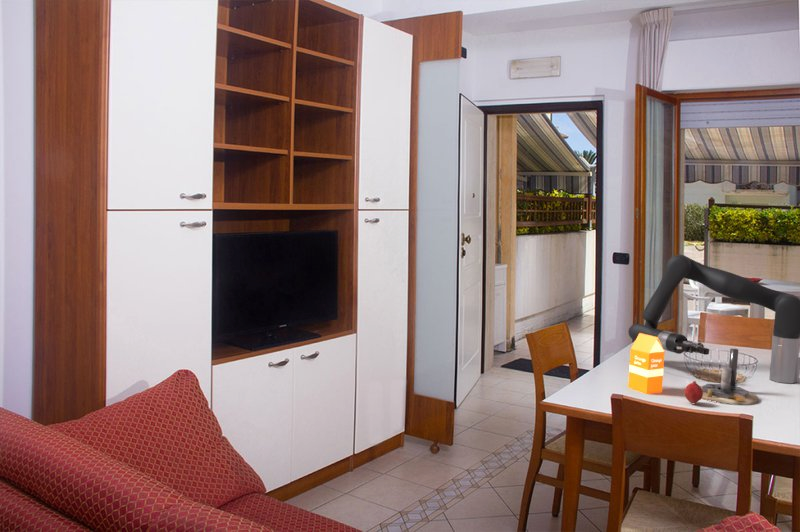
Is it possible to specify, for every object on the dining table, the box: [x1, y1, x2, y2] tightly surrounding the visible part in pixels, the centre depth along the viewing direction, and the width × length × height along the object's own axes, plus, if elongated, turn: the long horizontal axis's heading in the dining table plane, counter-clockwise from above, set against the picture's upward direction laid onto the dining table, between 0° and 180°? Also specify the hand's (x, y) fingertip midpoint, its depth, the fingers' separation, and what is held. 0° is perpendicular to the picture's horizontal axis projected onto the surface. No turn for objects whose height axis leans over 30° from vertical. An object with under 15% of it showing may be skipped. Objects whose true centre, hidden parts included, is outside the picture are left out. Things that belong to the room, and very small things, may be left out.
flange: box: [702, 348, 750, 401], centre depth 250 cm, size 15×18×14 cm
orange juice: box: [627, 333, 665, 395], centre depth 256 cm, size 8×9×20 cm
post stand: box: [699, 366, 759, 406], centre depth 251 cm, size 21×21×10 cm
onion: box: [683, 380, 703, 404], centre depth 241 cm, size 6×6×8 cm
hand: (707, 351), depth 266 cm, fingers closed
